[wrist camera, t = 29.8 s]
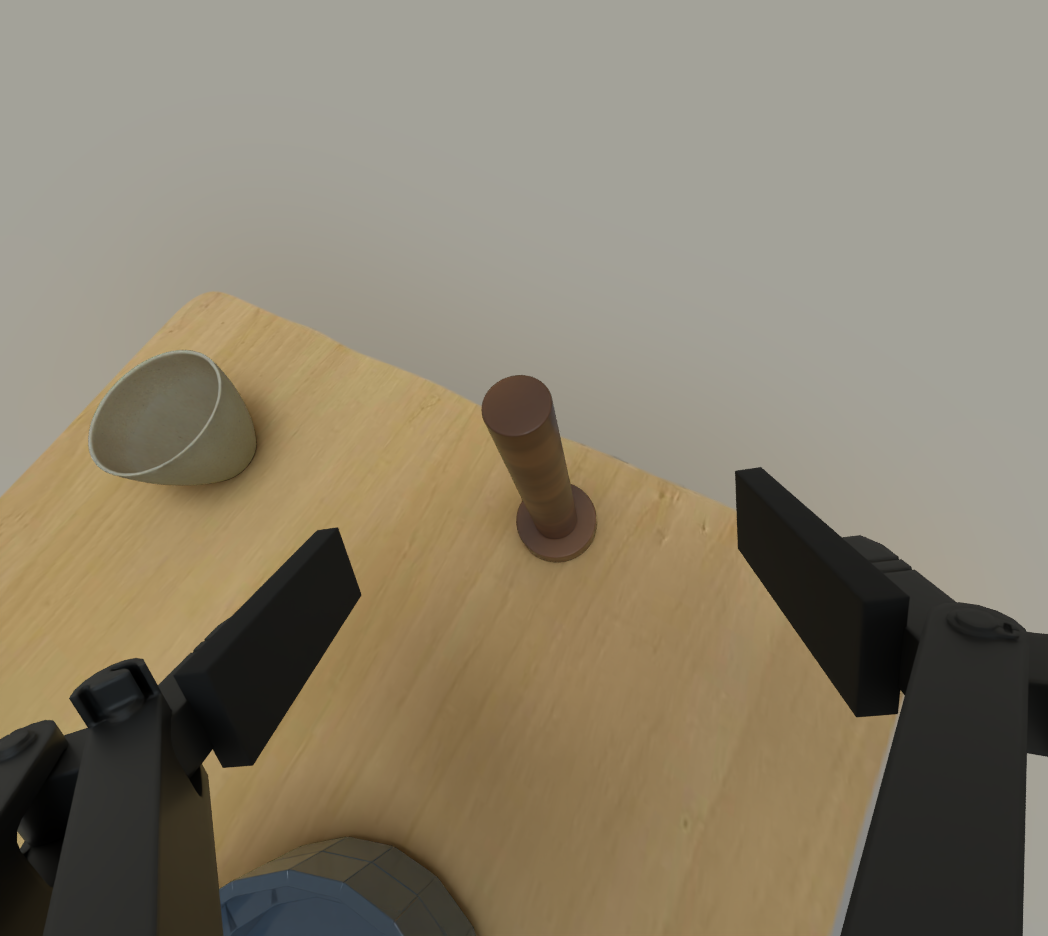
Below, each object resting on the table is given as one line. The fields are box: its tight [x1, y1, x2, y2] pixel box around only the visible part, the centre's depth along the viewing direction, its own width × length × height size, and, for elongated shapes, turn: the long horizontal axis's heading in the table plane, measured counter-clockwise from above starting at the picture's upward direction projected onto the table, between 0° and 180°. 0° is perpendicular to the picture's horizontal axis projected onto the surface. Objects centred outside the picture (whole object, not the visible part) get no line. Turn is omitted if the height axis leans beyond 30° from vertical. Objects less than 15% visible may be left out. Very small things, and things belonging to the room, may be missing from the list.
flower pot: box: [88, 350, 256, 485], centre depth 36 cm, size 10×10×7 cm
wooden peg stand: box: [482, 375, 597, 562], centre depth 25 cm, size 5×5×15 cm
